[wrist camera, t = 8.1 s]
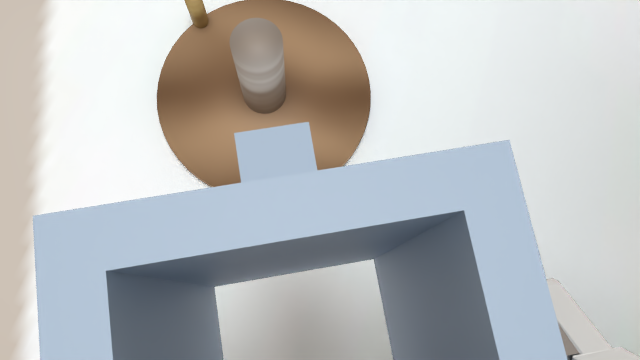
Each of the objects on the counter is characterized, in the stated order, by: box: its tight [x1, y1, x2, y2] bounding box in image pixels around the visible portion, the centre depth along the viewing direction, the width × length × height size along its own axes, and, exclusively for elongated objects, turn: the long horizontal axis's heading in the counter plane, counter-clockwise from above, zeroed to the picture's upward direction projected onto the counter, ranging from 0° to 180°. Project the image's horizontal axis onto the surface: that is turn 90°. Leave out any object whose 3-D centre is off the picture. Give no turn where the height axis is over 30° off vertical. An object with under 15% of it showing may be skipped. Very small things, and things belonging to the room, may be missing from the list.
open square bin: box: [33, 122, 567, 360], centre depth 10 cm, size 9×6×8 cm, turn 10°
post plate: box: [157, 0, 370, 187], centre depth 26 cm, size 12×12×7 cm
